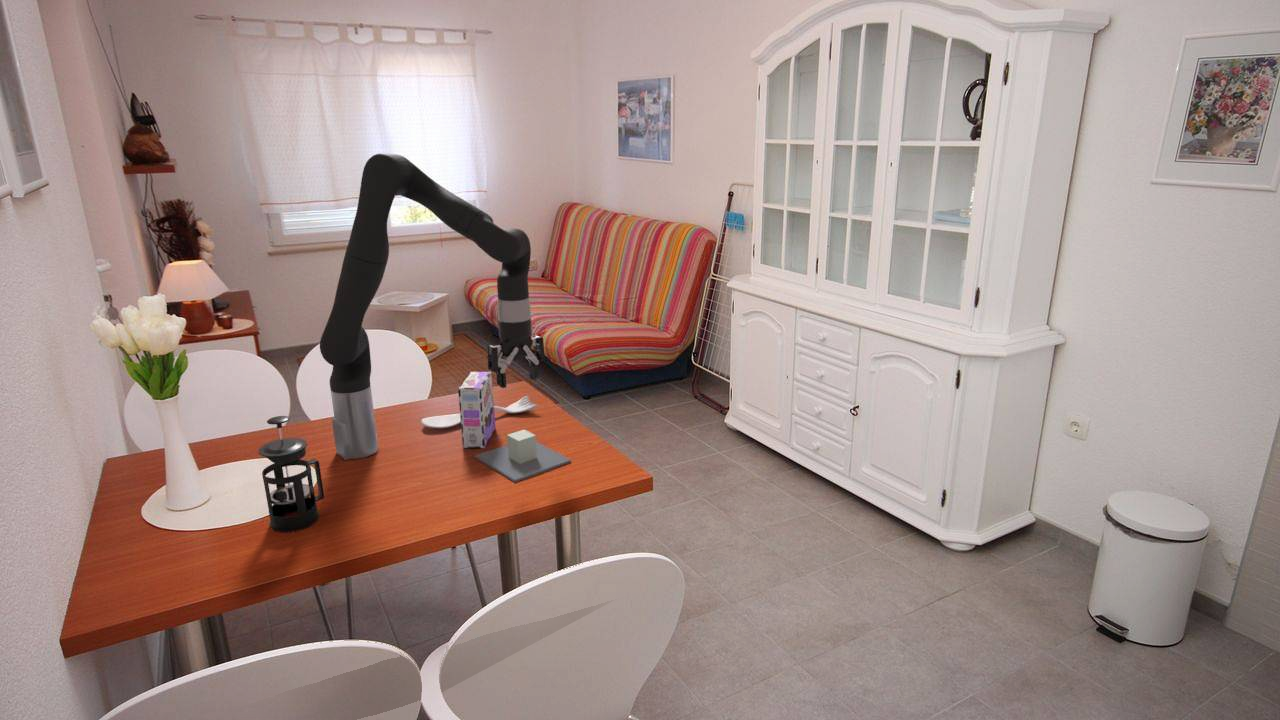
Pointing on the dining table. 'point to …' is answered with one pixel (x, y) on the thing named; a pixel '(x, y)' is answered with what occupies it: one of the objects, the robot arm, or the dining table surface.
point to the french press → (295, 494)
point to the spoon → (455, 419)
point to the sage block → (522, 446)
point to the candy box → (476, 409)
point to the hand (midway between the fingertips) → (518, 383)
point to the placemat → (524, 470)
